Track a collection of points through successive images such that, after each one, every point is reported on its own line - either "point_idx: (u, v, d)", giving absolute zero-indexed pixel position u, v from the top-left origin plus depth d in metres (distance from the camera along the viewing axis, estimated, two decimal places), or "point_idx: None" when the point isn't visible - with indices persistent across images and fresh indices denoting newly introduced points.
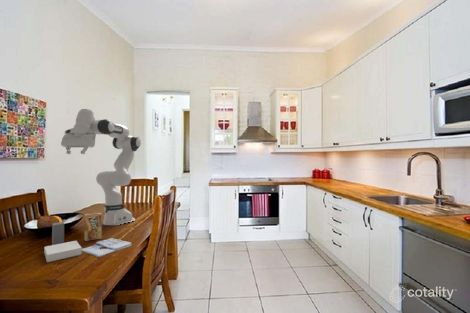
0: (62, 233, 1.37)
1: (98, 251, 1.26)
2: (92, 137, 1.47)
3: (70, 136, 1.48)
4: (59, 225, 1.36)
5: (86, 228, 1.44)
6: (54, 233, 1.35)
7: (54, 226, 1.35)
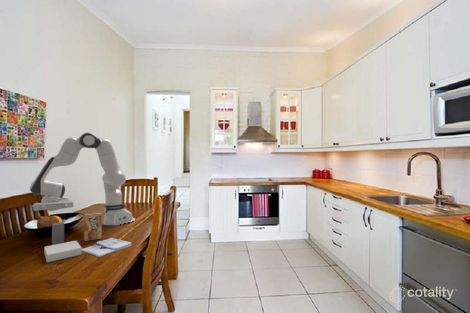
0: (62, 233, 1.37)
1: (98, 251, 1.26)
2: None
3: None
4: (59, 225, 1.36)
5: (86, 228, 1.44)
6: (54, 233, 1.35)
7: (54, 226, 1.35)
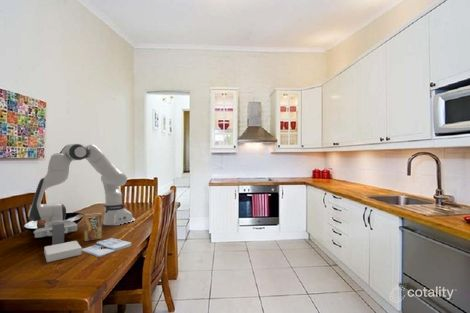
0: (62, 233, 1.37)
1: (98, 251, 1.26)
2: None
3: None
4: (59, 225, 1.36)
5: (86, 228, 1.44)
6: (54, 233, 1.35)
7: (54, 226, 1.35)
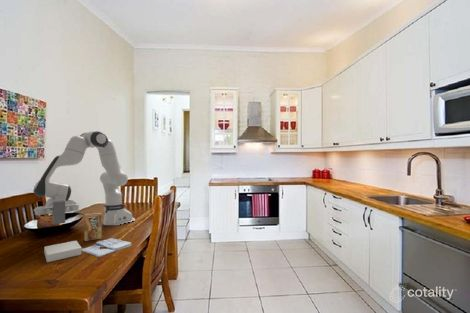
0: (63, 211, 1.33)
1: (98, 251, 1.26)
2: None
3: None
4: (60, 202, 1.32)
5: (86, 228, 1.44)
6: (55, 210, 1.31)
7: (55, 203, 1.31)
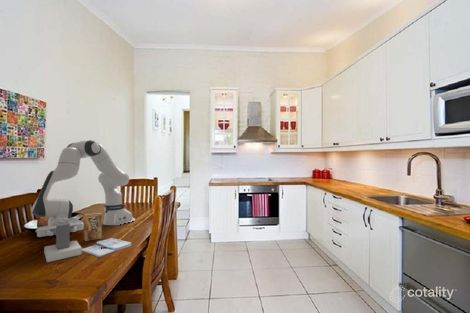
0: (67, 235, 1.24)
1: (98, 251, 1.26)
2: None
3: None
4: (64, 226, 1.23)
5: (86, 228, 1.44)
6: (59, 235, 1.21)
7: (59, 227, 1.21)
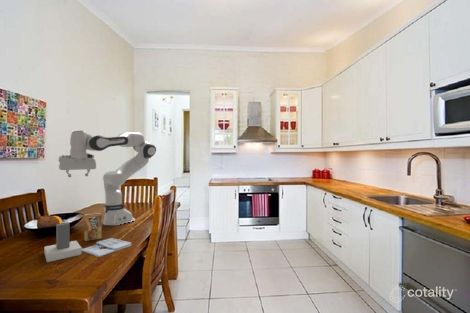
0: (67, 235, 1.24)
1: (98, 251, 1.26)
2: None
3: None
4: (64, 226, 1.23)
5: (86, 228, 1.44)
6: (58, 235, 1.21)
7: (58, 227, 1.21)
